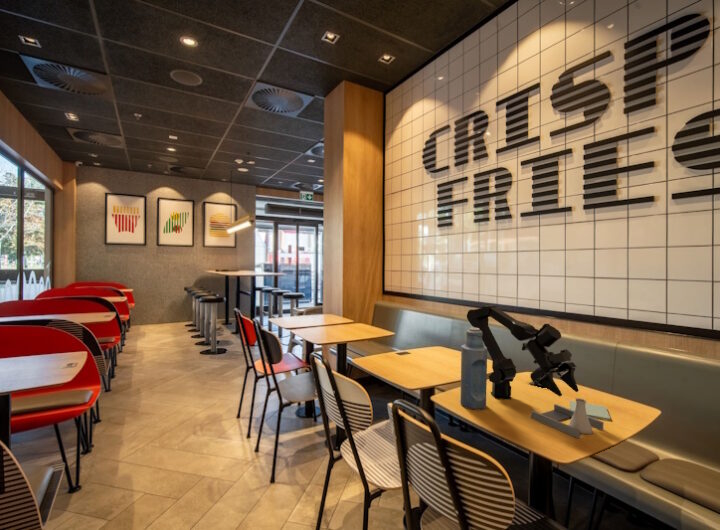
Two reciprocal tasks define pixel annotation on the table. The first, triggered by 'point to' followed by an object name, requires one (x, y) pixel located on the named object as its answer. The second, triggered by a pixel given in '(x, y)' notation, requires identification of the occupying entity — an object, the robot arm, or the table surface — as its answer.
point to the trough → (559, 415)
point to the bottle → (473, 370)
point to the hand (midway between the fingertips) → (569, 393)
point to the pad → (593, 410)
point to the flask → (581, 418)
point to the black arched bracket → (536, 384)
